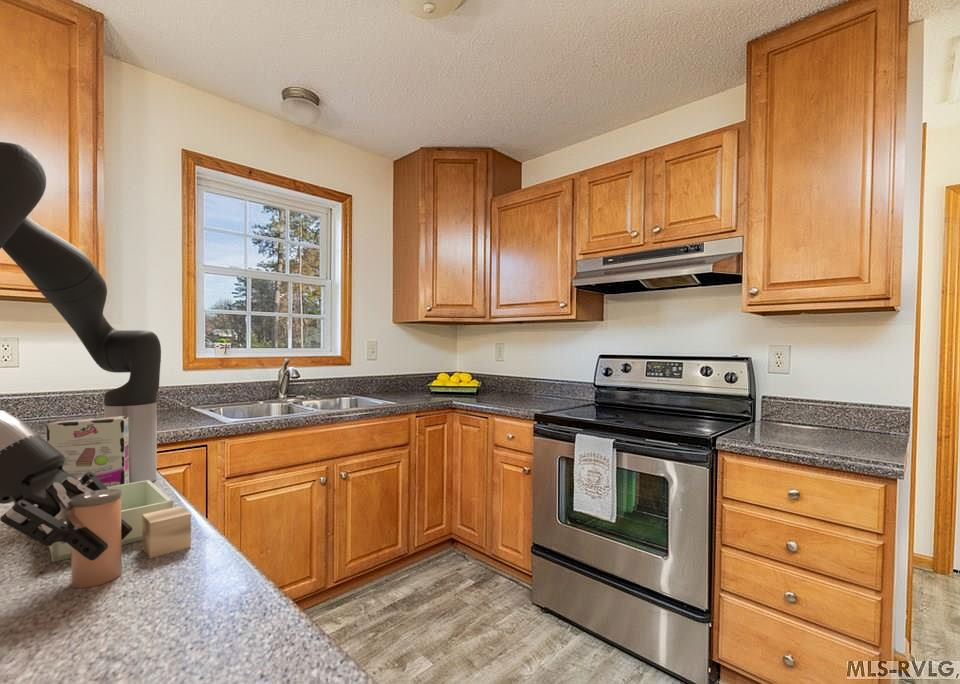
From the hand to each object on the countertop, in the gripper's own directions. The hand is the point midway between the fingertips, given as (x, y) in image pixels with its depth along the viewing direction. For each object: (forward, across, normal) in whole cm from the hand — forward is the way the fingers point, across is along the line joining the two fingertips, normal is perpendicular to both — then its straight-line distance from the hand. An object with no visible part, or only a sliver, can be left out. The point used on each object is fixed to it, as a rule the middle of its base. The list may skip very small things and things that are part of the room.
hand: (113, 544), depth 60 cm
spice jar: (+2, 0, +4) cm, 5 cm away
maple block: (+5, +8, +1) cm, 10 cm away
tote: (-4, +17, +10) cm, 20 cm away
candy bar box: (-11, +30, +17) cm, 36 cm away
